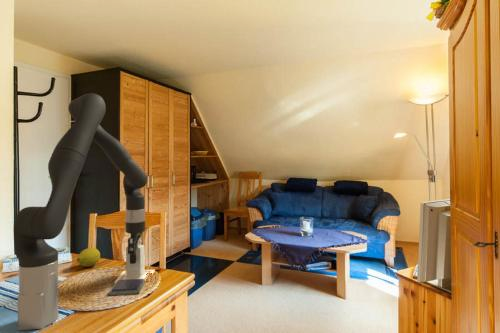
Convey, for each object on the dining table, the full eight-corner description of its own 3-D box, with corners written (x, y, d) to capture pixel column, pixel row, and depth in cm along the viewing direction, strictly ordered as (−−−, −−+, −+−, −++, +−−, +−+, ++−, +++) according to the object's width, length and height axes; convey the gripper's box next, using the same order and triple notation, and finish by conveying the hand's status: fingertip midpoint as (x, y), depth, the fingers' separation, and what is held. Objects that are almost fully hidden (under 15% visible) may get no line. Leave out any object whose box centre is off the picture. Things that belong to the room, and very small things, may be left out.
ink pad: (139, 293, 102) (139, 288, 102) (109, 295, 101) (109, 290, 101) (145, 282, 112) (145, 277, 112) (117, 283, 111) (117, 279, 111)
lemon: (94, 261, 136) (94, 244, 136) (105, 264, 132) (105, 246, 132) (71, 268, 127) (70, 250, 126) (81, 271, 123) (81, 253, 123)
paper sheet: (149, 281, 113) (149, 280, 113) (114, 283, 111) (114, 282, 111) (154, 270, 125) (154, 269, 125) (123, 271, 123) (123, 270, 123)
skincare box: (145, 273, 120) (144, 244, 120) (140, 277, 116) (140, 247, 116) (130, 273, 120) (130, 244, 120) (125, 277, 116) (125, 247, 116)
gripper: (141, 223, 111) (141, 265, 111) (148, 216, 125) (148, 254, 125) (120, 223, 110) (120, 266, 110) (130, 217, 124) (130, 254, 124)
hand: (135, 259), depth 118 cm, fingers open, 8 cm apart
